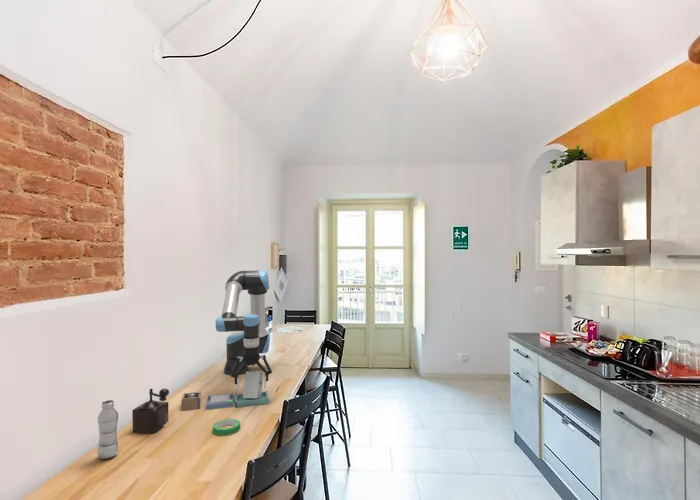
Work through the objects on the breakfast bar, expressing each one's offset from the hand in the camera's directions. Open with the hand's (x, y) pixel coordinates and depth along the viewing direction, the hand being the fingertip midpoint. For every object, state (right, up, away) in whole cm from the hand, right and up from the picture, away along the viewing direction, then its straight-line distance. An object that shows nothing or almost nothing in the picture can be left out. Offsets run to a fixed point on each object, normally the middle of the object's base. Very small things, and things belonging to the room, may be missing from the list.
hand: (251, 389), depth 196 cm
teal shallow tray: (0, -6, 0) cm, 6 cm away
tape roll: (-3, -7, -31) cm, 32 cm away
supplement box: (0, -4, -1) cm, 4 cm away
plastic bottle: (-39, -6, -52) cm, 66 cm away
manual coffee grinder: (-33, -7, -29) cm, 45 cm away
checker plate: (-14, -4, -4) cm, 16 cm away
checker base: (-14, -6, -4) cm, 16 cm away
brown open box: (-27, -6, -7) cm, 29 cm away
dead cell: (-27, -6, -7) cm, 29 cm away
